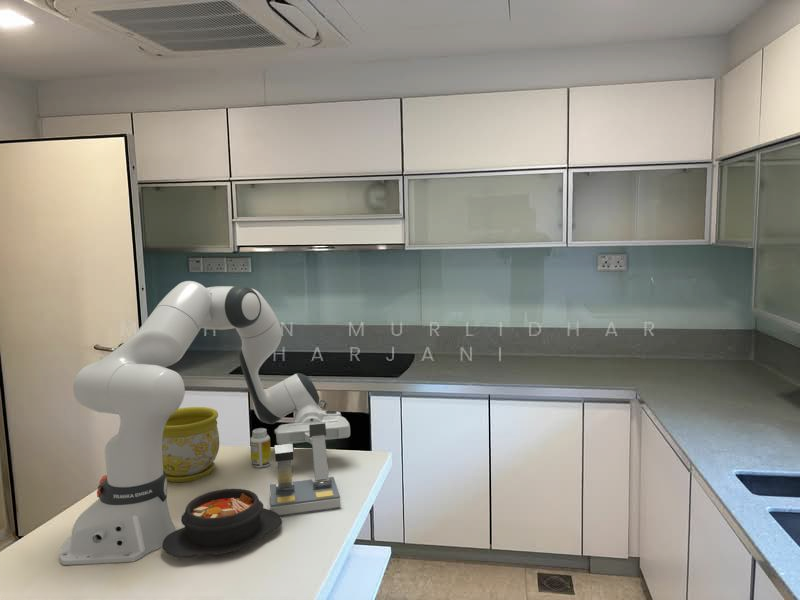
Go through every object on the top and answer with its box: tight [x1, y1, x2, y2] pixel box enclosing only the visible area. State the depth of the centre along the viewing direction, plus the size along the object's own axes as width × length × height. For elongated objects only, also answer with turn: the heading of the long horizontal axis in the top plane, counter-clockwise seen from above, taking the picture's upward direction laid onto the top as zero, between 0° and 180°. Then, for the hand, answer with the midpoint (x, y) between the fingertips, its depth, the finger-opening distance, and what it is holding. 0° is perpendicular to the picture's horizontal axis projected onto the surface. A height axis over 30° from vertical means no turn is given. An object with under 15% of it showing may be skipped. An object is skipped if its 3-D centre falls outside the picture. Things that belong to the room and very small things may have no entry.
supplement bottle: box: [249, 427, 272, 469], centre depth 170 cm, size 6×6×10 cm
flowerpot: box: [162, 406, 220, 483], centre depth 165 cm, size 18×18×16 cm
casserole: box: [162, 488, 283, 559], centre depth 129 cm, size 25×19×8 cm
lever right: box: [309, 423, 332, 488], centre depth 149 cm, size 4×2×15 cm, turn 104°
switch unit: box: [269, 476, 341, 517], centre depth 146 cm, size 16×12×3 cm
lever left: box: [274, 443, 295, 493], centre depth 141 cm, size 4×2×15 cm
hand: (315, 440), depth 158 cm, fingers closed
